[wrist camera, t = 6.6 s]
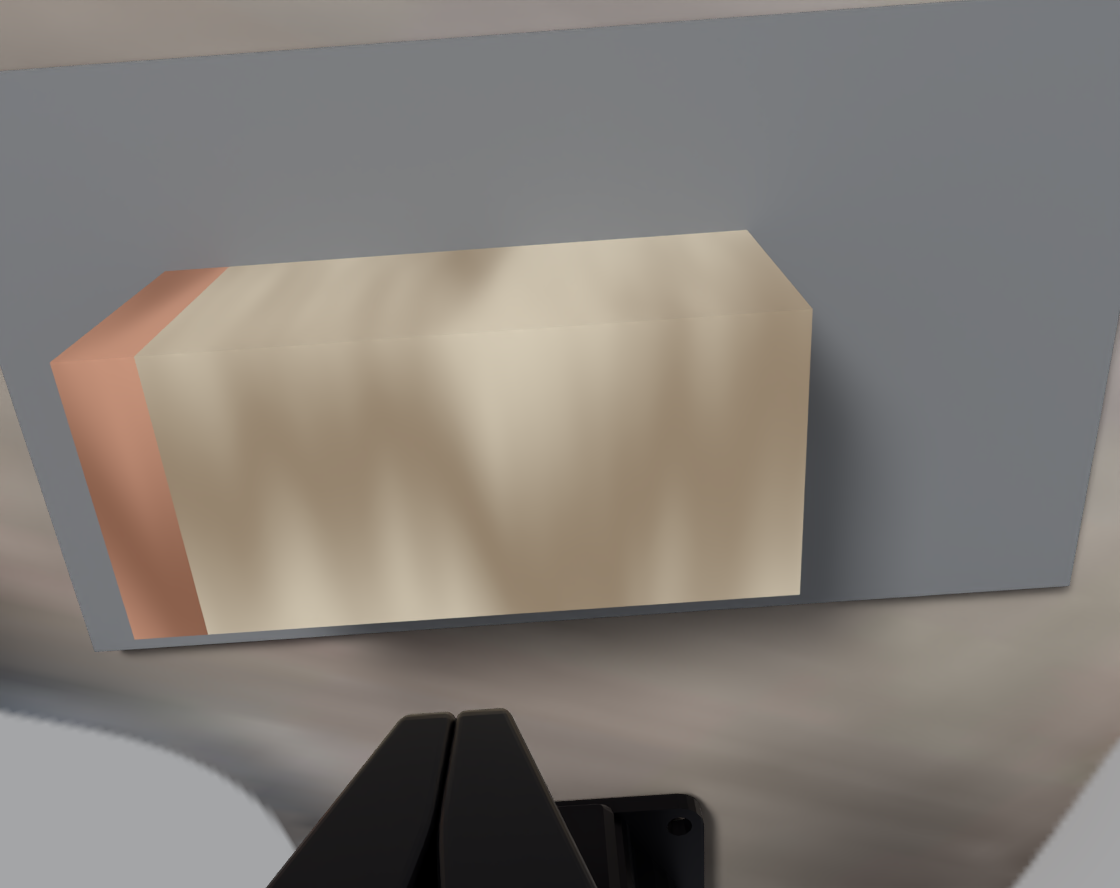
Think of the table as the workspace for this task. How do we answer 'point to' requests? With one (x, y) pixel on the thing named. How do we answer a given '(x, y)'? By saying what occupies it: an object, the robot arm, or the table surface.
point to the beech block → (447, 434)
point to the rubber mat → (646, 211)
